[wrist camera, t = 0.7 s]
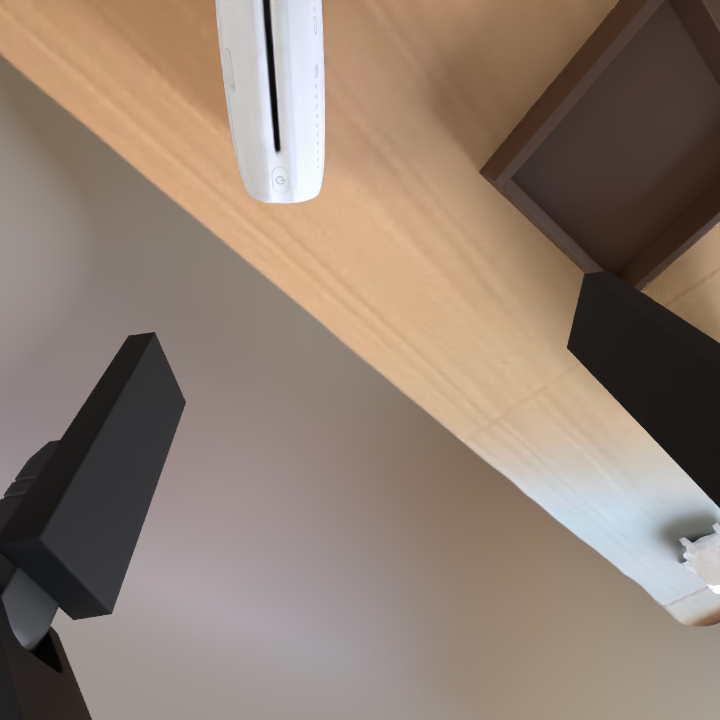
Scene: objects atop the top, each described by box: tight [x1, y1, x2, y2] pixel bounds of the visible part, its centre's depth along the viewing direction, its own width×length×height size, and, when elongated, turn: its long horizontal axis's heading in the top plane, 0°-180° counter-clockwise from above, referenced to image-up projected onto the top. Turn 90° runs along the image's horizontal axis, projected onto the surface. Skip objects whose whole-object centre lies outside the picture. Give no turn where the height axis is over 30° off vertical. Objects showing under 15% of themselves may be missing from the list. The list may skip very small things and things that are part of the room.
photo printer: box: [215, 0, 325, 203], centre depth 21 cm, size 10×4×12 cm, turn 178°
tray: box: [479, 0, 720, 291], centre depth 30 cm, size 17×15×3 cm
